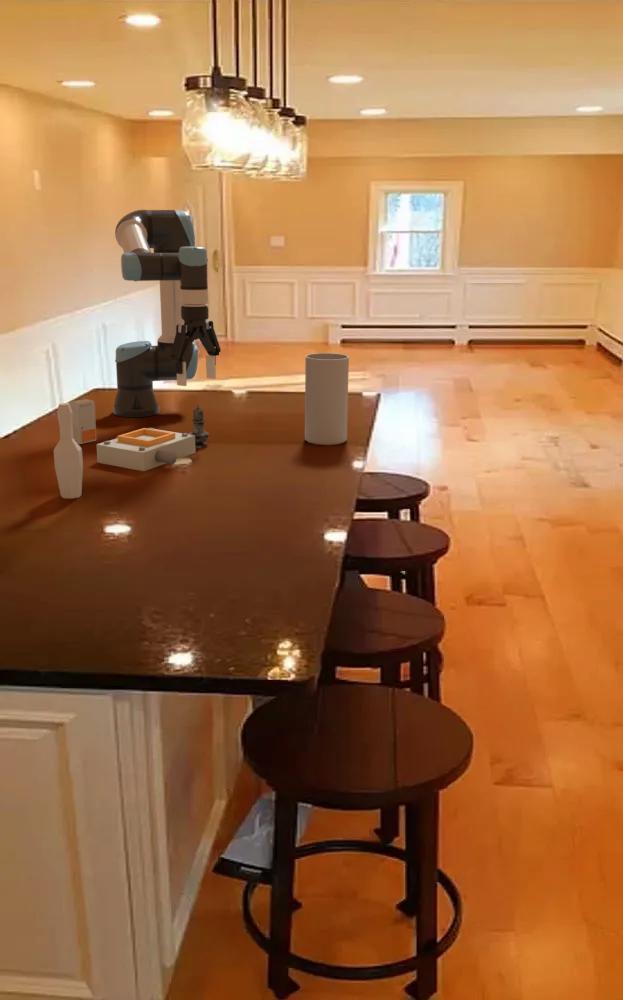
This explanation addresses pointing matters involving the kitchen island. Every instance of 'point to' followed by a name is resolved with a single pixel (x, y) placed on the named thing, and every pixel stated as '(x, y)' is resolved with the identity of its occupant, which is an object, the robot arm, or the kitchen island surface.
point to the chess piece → (199, 428)
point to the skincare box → (83, 421)
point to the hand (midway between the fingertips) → (196, 381)
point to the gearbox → (145, 449)
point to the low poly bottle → (68, 456)
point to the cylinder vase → (326, 398)
